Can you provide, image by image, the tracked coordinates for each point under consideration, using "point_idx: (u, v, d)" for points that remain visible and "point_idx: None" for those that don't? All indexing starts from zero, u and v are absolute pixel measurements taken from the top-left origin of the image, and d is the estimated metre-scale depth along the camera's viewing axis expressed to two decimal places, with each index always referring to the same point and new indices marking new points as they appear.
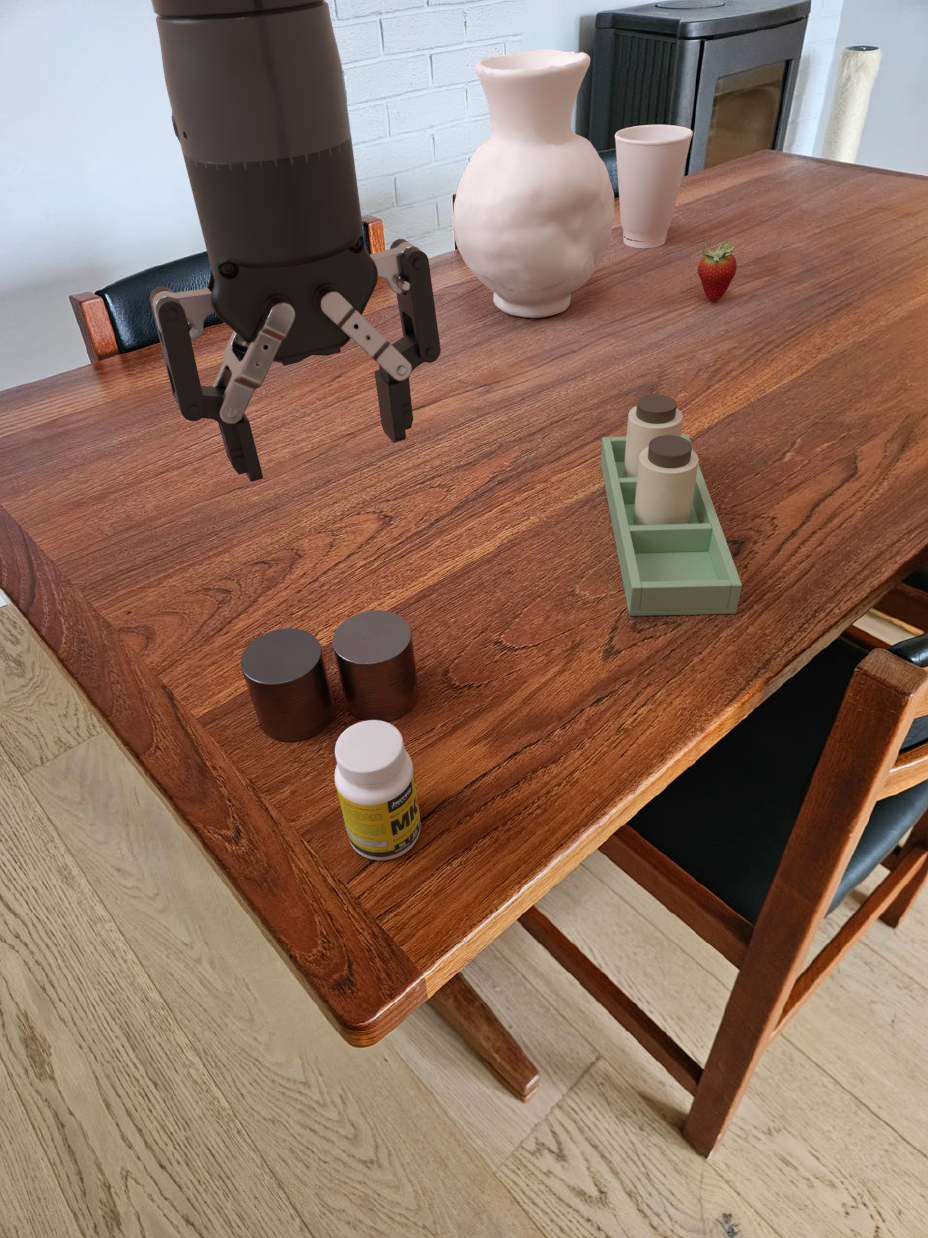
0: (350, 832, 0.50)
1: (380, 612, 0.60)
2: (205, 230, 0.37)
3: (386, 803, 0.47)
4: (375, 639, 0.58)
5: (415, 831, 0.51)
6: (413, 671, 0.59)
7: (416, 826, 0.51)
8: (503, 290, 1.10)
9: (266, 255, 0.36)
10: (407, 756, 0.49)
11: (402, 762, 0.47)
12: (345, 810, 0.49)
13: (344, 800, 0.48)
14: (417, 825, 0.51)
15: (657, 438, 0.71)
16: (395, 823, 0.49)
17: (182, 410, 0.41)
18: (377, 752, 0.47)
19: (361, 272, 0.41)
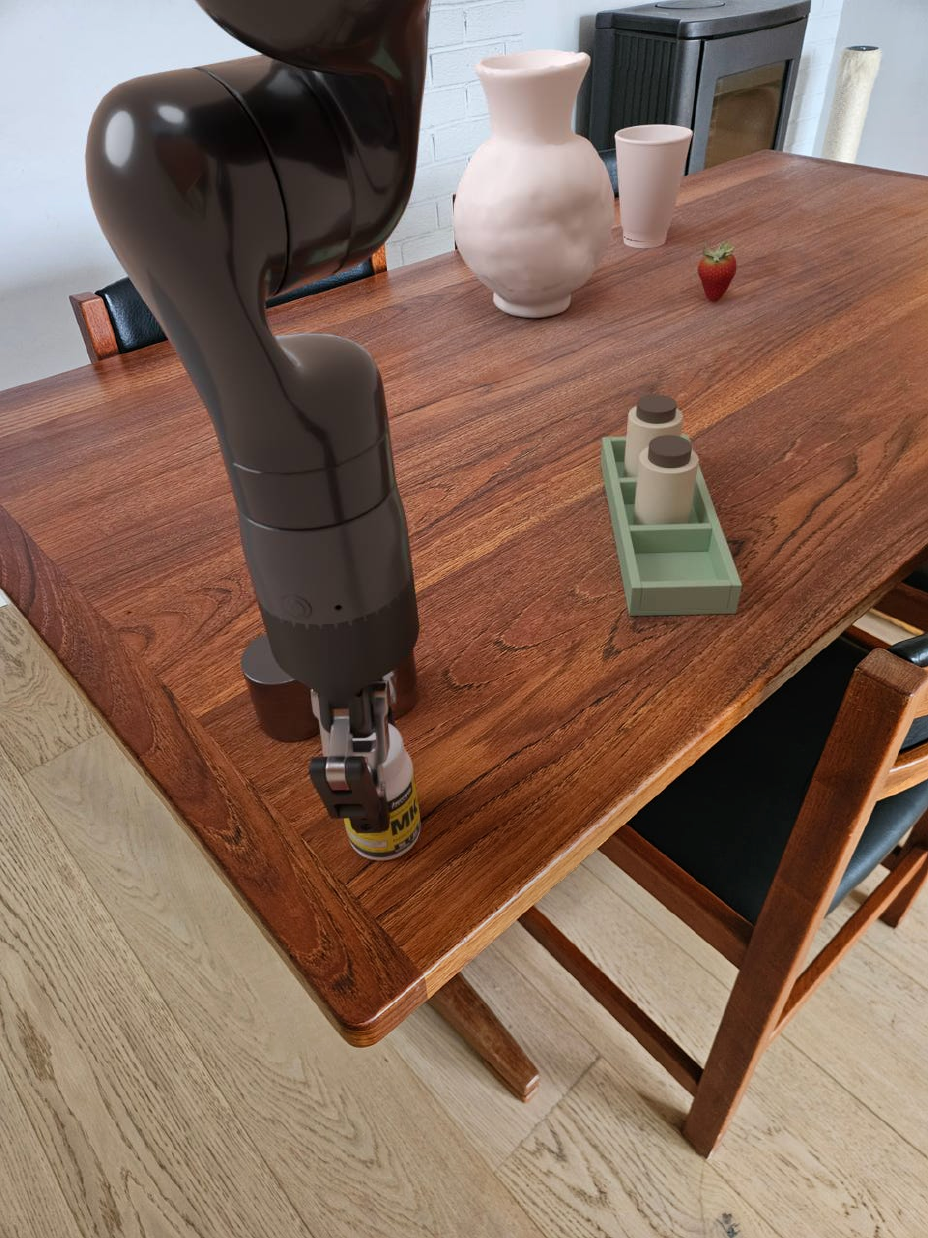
0: (350, 832, 0.50)
1: None
2: (343, 671, 0.38)
3: None
4: None
5: (415, 831, 0.51)
6: (413, 671, 0.59)
7: (416, 826, 0.51)
8: (503, 290, 1.10)
9: (407, 653, 0.40)
10: (407, 756, 0.49)
11: (402, 762, 0.47)
12: None
13: None
14: (417, 825, 0.51)
15: (657, 438, 0.71)
16: (395, 823, 0.49)
17: (376, 813, 0.42)
18: None
19: None
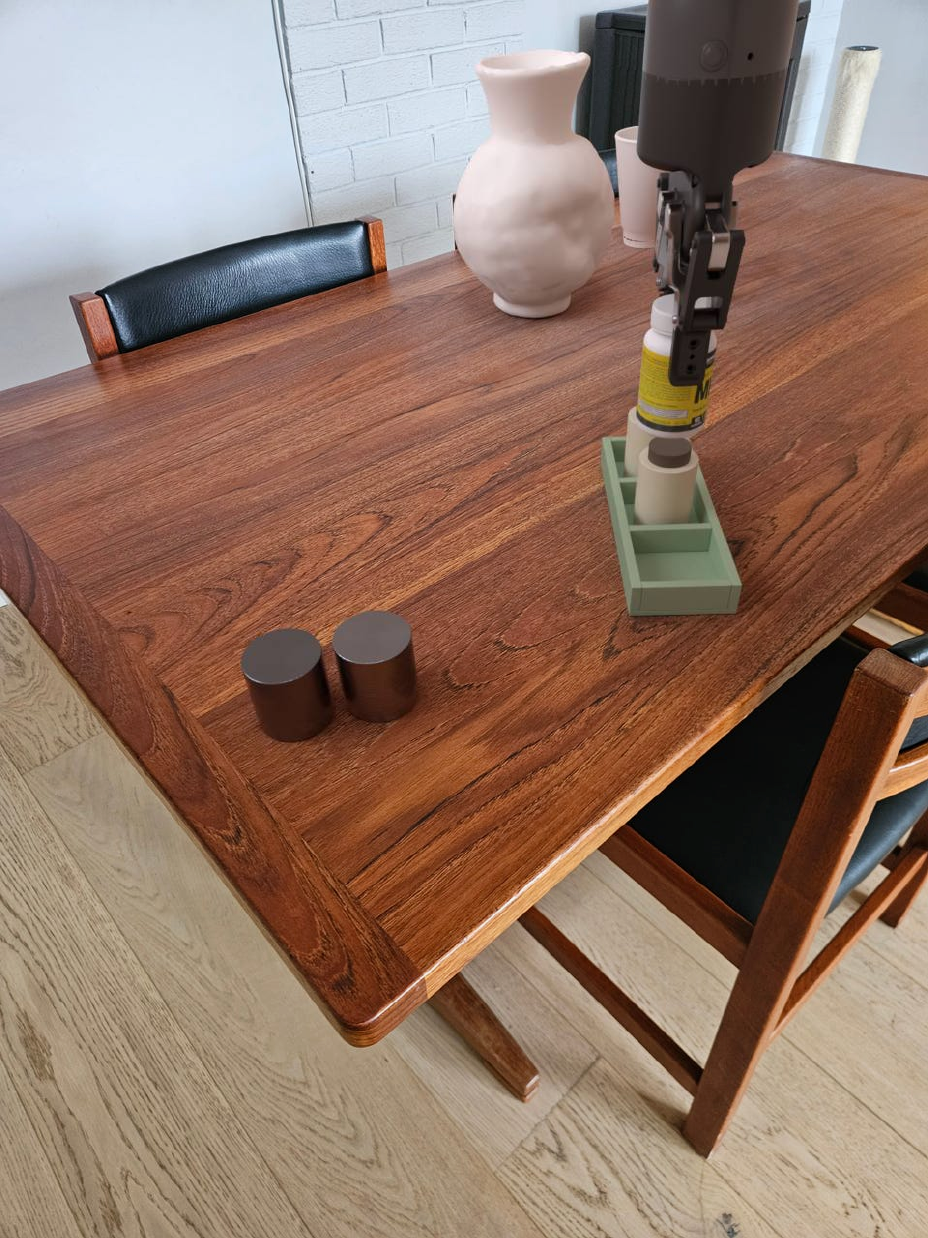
0: (651, 407, 0.55)
1: (380, 612, 0.60)
2: (731, 145, 0.43)
3: None
4: (375, 639, 0.58)
5: (705, 412, 0.56)
6: (413, 671, 0.59)
7: (706, 407, 0.56)
8: (503, 290, 1.10)
9: (772, 149, 0.45)
10: None
11: None
12: (655, 375, 0.54)
13: (659, 359, 0.53)
14: (706, 408, 0.56)
15: (657, 438, 0.71)
16: (700, 387, 0.54)
17: (725, 319, 0.47)
18: (695, 306, 0.52)
19: None
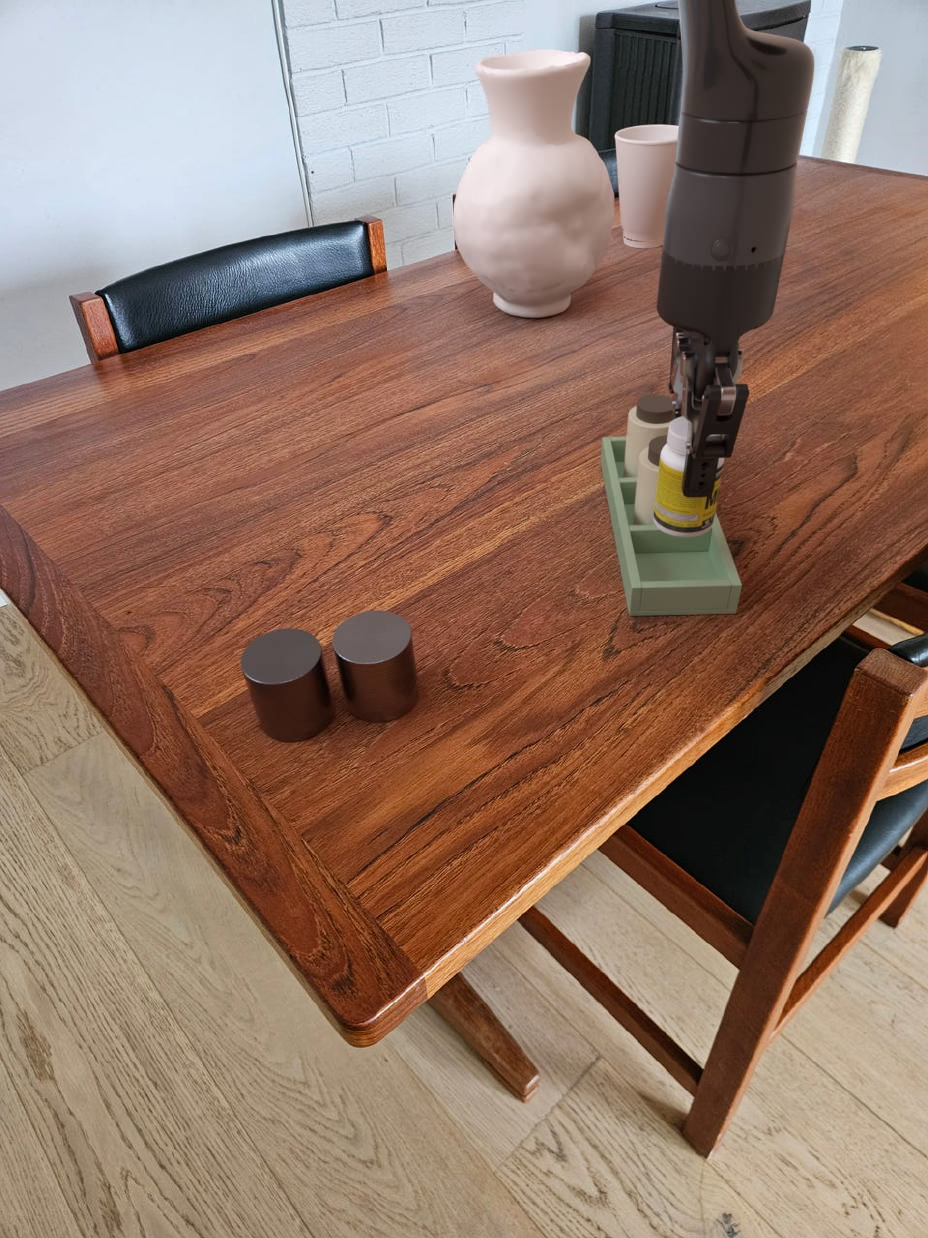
0: (666, 511, 0.63)
1: (380, 612, 0.60)
2: (737, 314, 0.51)
3: None
4: (375, 639, 0.58)
5: (714, 514, 0.64)
6: (413, 671, 0.59)
7: (715, 510, 0.64)
8: (503, 290, 1.10)
9: (772, 312, 0.53)
10: None
11: None
12: (670, 486, 0.62)
13: (674, 473, 0.61)
14: (715, 510, 0.64)
15: (657, 438, 0.71)
16: (709, 496, 0.62)
17: None
18: None
19: None
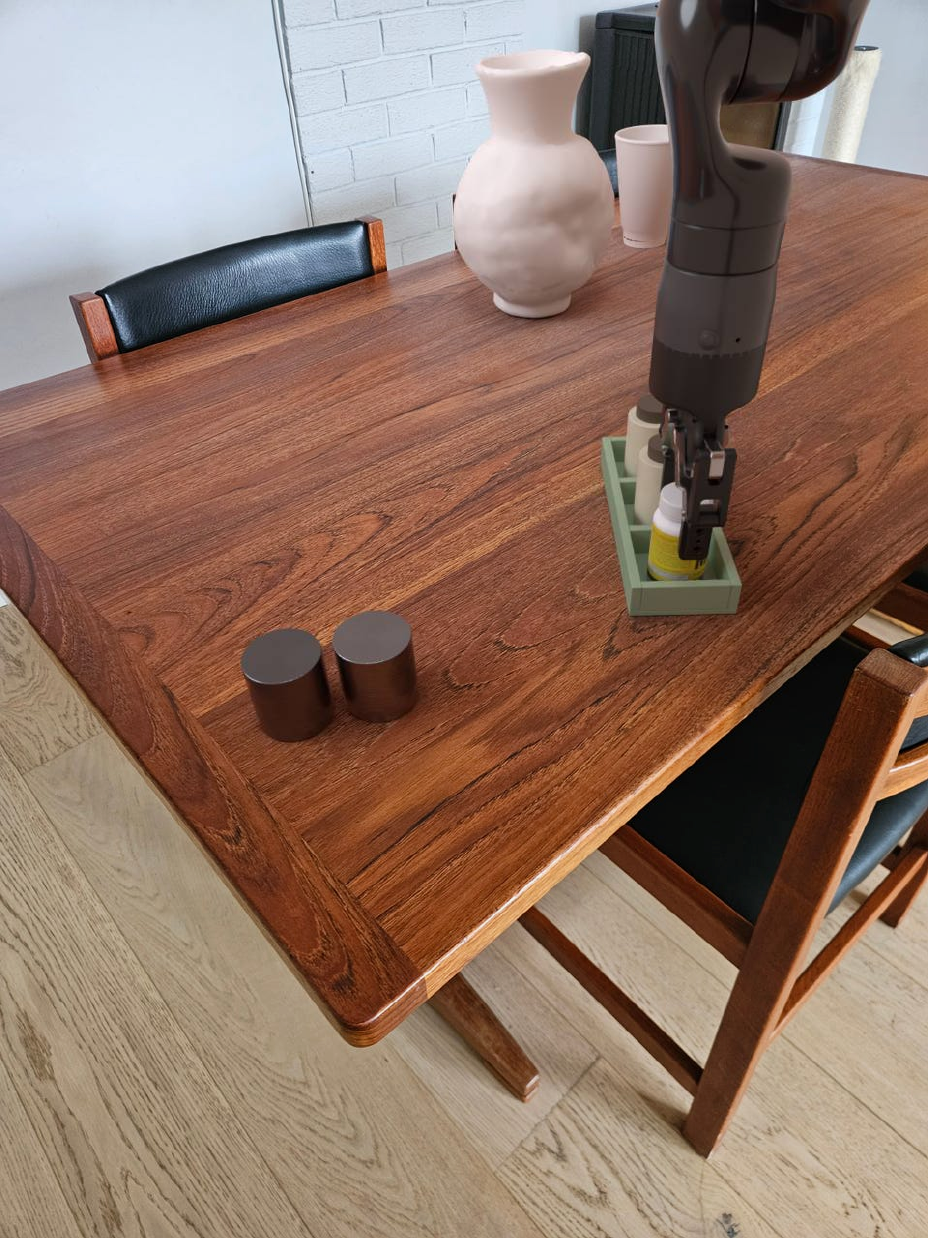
0: (659, 570, 0.67)
1: (380, 612, 0.60)
2: (723, 397, 0.55)
3: None
4: (375, 639, 0.58)
5: (704, 573, 0.68)
6: (413, 671, 0.59)
7: None
8: (503, 290, 1.10)
9: (756, 392, 0.57)
10: None
11: None
12: (662, 548, 0.65)
13: (666, 537, 0.65)
14: None
15: (656, 435, 0.71)
16: None
17: (725, 521, 0.57)
18: None
19: None
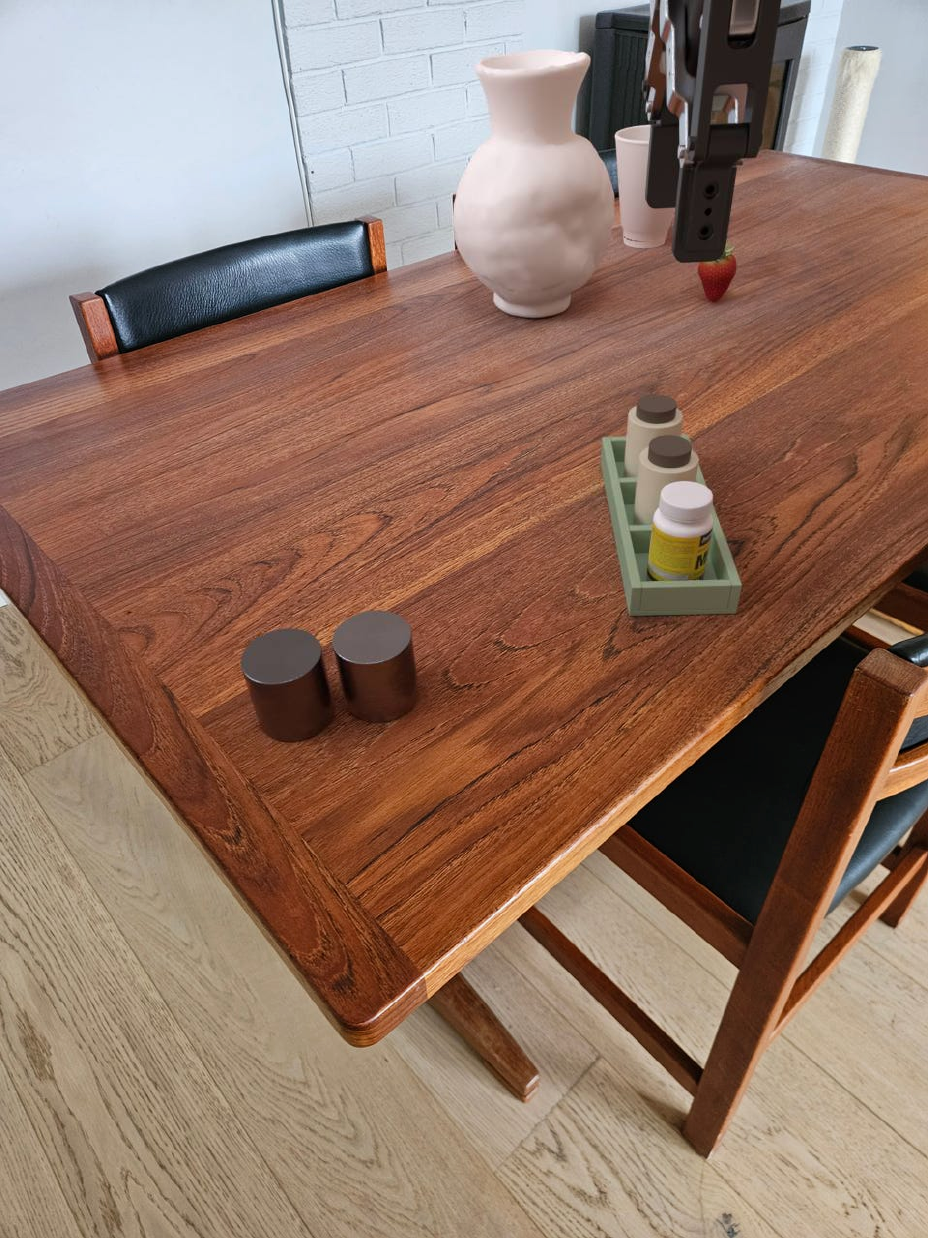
0: (659, 570, 0.67)
1: (380, 612, 0.60)
2: None
3: (700, 537, 0.64)
4: (375, 639, 0.58)
5: (704, 573, 0.68)
6: (413, 671, 0.59)
7: None
8: (503, 290, 1.10)
9: None
10: None
11: (711, 506, 0.64)
12: (662, 548, 0.65)
13: (666, 537, 0.65)
14: None
15: (657, 438, 0.71)
16: (699, 558, 0.66)
17: (760, 139, 0.31)
18: (695, 497, 0.64)
19: None
